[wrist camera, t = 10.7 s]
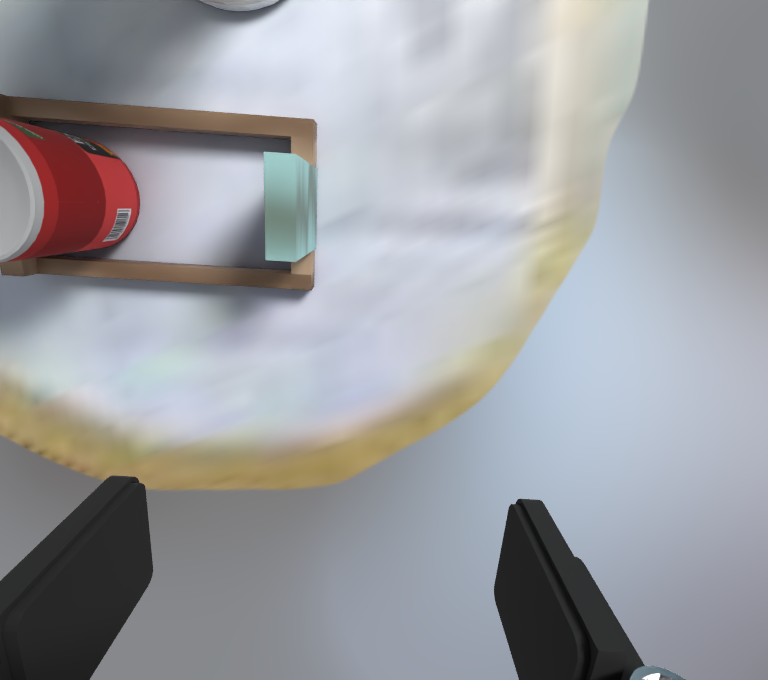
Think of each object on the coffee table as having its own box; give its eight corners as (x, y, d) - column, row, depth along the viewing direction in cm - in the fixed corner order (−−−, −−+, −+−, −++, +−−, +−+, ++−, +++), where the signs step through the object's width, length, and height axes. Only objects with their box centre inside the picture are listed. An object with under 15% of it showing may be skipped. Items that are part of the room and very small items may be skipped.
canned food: (127, 133, 31) (2, 95, 21) (156, 242, 34) (56, 257, 23) (26, 145, 31) (-149, 113, 21) (62, 253, 34) (-79, 272, 23)
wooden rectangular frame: (2, 100, 30) (-145, 56, 22) (318, 123, 31) (296, 91, 23) (33, 269, 34) (-83, 289, 25) (315, 286, 35) (295, 312, 26)
